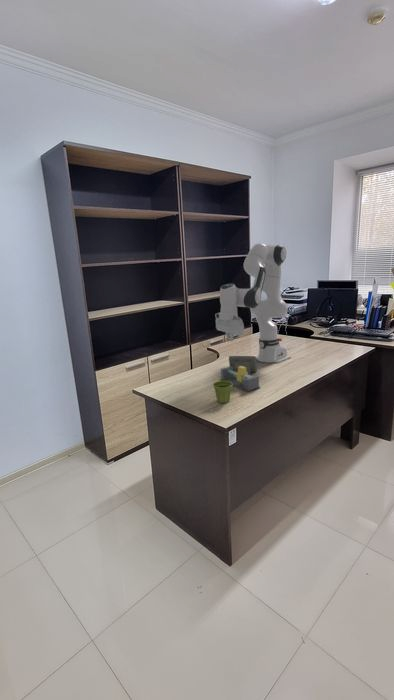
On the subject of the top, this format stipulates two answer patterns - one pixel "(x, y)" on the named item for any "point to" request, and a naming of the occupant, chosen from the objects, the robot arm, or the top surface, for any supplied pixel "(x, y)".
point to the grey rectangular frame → (247, 385)
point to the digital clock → (243, 363)
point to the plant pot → (222, 391)
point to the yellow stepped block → (241, 373)
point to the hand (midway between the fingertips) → (230, 340)
